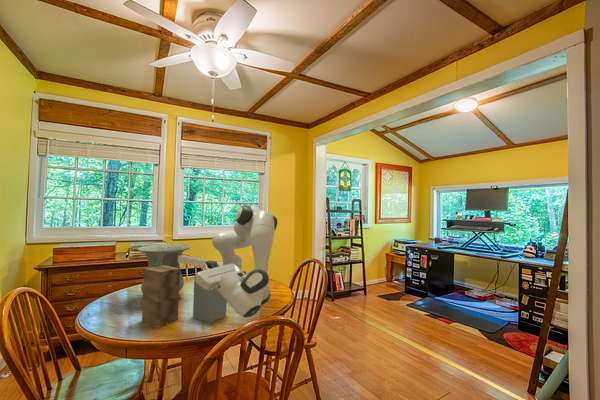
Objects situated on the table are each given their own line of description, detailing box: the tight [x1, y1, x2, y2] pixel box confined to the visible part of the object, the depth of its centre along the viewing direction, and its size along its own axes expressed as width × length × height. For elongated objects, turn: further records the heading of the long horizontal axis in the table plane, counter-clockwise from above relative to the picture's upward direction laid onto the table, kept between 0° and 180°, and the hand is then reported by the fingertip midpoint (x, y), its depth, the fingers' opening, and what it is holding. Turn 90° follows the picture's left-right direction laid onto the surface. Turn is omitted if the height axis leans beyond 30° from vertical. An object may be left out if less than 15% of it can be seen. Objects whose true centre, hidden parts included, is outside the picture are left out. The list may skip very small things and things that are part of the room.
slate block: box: [192, 274, 228, 324], centre depth 133 cm, size 10×12×20 cm
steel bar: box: [178, 254, 218, 269], centre depth 120 cm, size 3×22×3 cm, turn 59°
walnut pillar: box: [141, 265, 181, 328], centre depth 127 cm, size 10×12×24 cm
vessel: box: [136, 243, 191, 301], centre depth 154 cm, size 27×27×30 cm
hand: (208, 263), depth 117 cm, fingers closed on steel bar, 3 cm apart
